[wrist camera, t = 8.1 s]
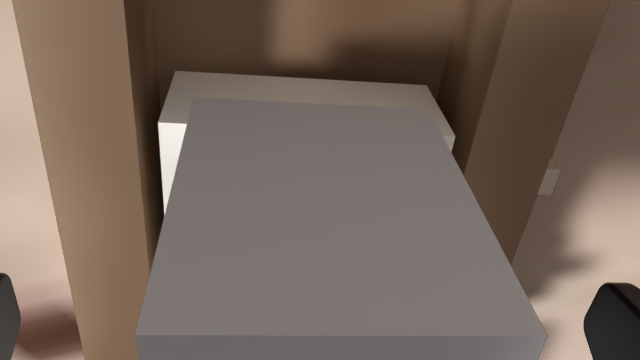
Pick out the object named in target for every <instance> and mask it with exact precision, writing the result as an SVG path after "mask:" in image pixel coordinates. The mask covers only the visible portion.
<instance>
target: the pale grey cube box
mask: <svg viewBox="0 0 640 360" xmlns="http://www.w3.org/2000/svg"><path fill="white" fill-rule="evenodd" d="M158 130H159V144H160V158H161V173H162V187H163V201H164V220H163V224H162V228H161V232H160V236H159V240H158V244H157V248H156V253H155V257H154V261H153V265H152V269H151V273H150V277H149V281H148V285H147V289H146V293H145V297H144V302H143V306H142V310H141V314H140V318H139V322H138V326H137V330H136V334H135V337H136V345H137V353H138V360H537V359H538V357H539V355H540V352H541V350H542V348H543V346H544V344H545V342H546V340H547V337H548V335H547V334H546V332H545V330H544V328H543V326H542V324H541V322H540V320H539V318H538V316H537V315H536V313H535V311H534V309H533V307H532V305H531V303H530V301H529V299H528V297H527V296H526V294H525V292H524V290H523V288H522V286H521V284H520V282H519V280H518V278H517V277H516V275H515V273H514V271H513V269H512V267H511V265H510V263H509V261H508V259H507V257H506V256H505V254H504V252H503V250H502V248H501V246H500V244H499V242H498V240H497V238H496V237H495V235H494V233H493V231H492V229H491V227H490V225H489V223H488V221H487V219H486V218H485V216H484V214H483V212H482V210H481V208H480V206H479V204H478V202H477V200H476V199H475V197H474V195H473V193H472V191H471V189H470V187H469V185H468V183H467V181H466V180H465V178H464V176H463V174H462V172H461V170H460V168H459V166H458V164H457V162H456V161H455V159H454V157H453V155H452V153H451V152H452V148H453V144H454V140H455V137H456V136H455V135H454V133H453V131H452V129H451V127H450V126H449V124H448V122H447V120H446V119H445V117H444V115H443V113H442V112H441V110H440V108H439V106H438V104H437V103H436V101H435V99H434V97H433V96H432V94H431V92H430V90H429V88H428V87H427V85H413V84H396V83H379V82H361V81H344V80H327V79H309V78H292V77H274V76H257V75H240V74H222V73H205V72H188V71H175V73H174V76H173V79H172V82H171V85H170V88H169V91H168V94H167V97H166V100H165V103H164V106H163V109H162V112H161V115H160V118H159V121H158Z"/></svg>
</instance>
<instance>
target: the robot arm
mask: <svg viewBox="0 0 640 360" xmlns="http://www.w3.org/2000/svg"><path fill="white" fill-rule="evenodd" d="M20 320H21V318H20V311H19V307H18V304H17V300H16V296H15V293H14V289H13V286H12V282H11V280H10V277H9V276H8V275H7V274H5V273H0V360H11V357H12V353H13V350H14V347H15V343H16V340H17V336H18V333H19V329H20ZM584 332H585V336H586V339H587V342H588V345H589V348H590V351H591V354H592V357H593V360H640V289H639V288H637V287H636V286H634V285H632V284H630V283H605V284H603V285H602V286H601V287H600V288H599V290H598V292H597V294H596V296H595V298H594V300H593V302H592V304H591V306H590V308H589V310H588V312H587V314H586V316H585V318H584Z"/></svg>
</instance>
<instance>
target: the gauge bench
mask: <svg viewBox="0 0 640 360" xmlns="http://www.w3.org/2000/svg"><path fill="white" fill-rule="evenodd" d="M609 2H610V0H12V3H13V8H14V13H15V17H16V22H17V27H18V32H19V37H20V42H21V47H22V52H23V57H24V62H25V67H26V72H27V77H28V82H29V86H30V91H31V96H32V101H33V106H34V111H35V116H36V121H37V126H38V131H39V136H40V141H41V146H42V151H43V156H44V160H45V165H46V170H47V175H48V180H49V185H50V190H51V195H52V200H53V205H54V210H55V215H56V220H57V225H58V230H59V234H60V239H61V244H62V249H63V254H64V259H65V264H66V269H67V274H68V279H69V284H70V289H71V294H72V299H73V303H74V308H75V313H76V318H77V323H78V328H79V333H80V338H81V343H82V348H83V353H84V358H85V360H138V353H137V345H136V337H135V334H136V330H137V326H138V322H139V318H140V314H141V310H142V306H143V302H144V297H145V293H146V289H147V285H148V281H149V277H150V273H151V269H152V265H153V261H154V257H155V253H156V248H157V244H158V240H159V236H160V232H161V228H162V224H163V220H164V201H163V187H162V173H161V158H160V144H159V130H158V121H159V118H160V115H161V112H162V109H163V106H164V103H165V100H166V97H167V94H168V91H169V88H170V85H171V82H172V79H173V76H174V73H175V71H188V72H205V73H222V74H240V75H257V76H274V77H292V78H309V79H327V80H344V81H361V82H379V83H396V84H413V85H427V87H428V88H429V90H430V92H431V94H432V96H433V97H434V99H435V101H436V103H437V104H438V106H439V108H440V110H441V112H442V113H443V115H444V117H445V119H446V120H447V122H448V124H449V126H450V127H451V129H452V131H453V133H454V135H455V136H456V137H455V140H454V144H453V148H452V152H451V153H452V155H453V157H454V159H455V161H456V162H457V164H458V166H459V168H460V170H461V172H462V174H463V176H464V178H465V180H466V181H467V183H468V185H469V187H470V189H471V191H472V193H473V195H474V197H475V199H476V200H477V202H478V204H479V206H480V208H481V210H482V212H483V214H484V216H485V218H486V219H487V221H488V223H489V225H490V227H491V229H492V231H493V233H494V235H495V237H496V238H497V240H498V242H499V244H500V246H501V248H502V250H503V252H504V254H505V256H506V257H507V259H508V261H509V263H510V265H511V263H512V260H513V258H514V255H515V252H516V250H517V247H518V244H519V242H520V239H521V236H522V234H523V231H524V228H525V226H526V223H527V220H528V218H529V215H530V212H531V210H532V207H533V204H534V202H535V199H536V196H537V195H549V196H551V195H552V193H553V190H554V187H555V185H556V182H557V180H558V177H559V175H560V172H561V169H560V168H559V167H558V165H557V164H556V163H555V162H554V160H553V159H552V158H551V157H552V154H553V151H554V149H555V146H556V143H557V141H558V138H559V135H560V133H561V130H562V127H563V125H564V122H565V119H566V117H567V114H568V111H569V109H570V106H571V103H572V101H573V98H574V95H575V93H576V90H577V87H578V85H579V82H580V79H581V77H582V74H583V71H584V69H585V66H586V63H587V61H588V58H589V56H590V53H591V50H592V48H593V45H594V42H595V40H596V37H597V34H598V32H599V29H600V26H601V24H602V21H603V18H604V16H605V13H606V10H607V8H608V5H609Z"/></svg>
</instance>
